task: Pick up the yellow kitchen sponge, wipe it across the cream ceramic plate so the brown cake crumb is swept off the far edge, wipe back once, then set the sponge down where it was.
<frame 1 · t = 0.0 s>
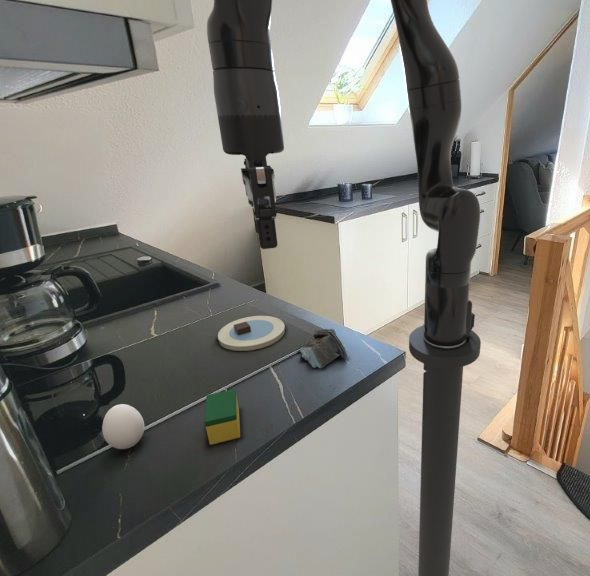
hand: (266, 239, 56), 31 cm above the counter, tool pointing down, fingers open, 8 cm apart
sponge: (225, 426, 66), on the counter
plate: (252, 334, 95), on the counter
crumb: (242, 331, 94), point 1 cm above the counter, touching plate
egg: (129, 446, 63), on the counter
grey jagged block: (317, 357, 86), on the counter
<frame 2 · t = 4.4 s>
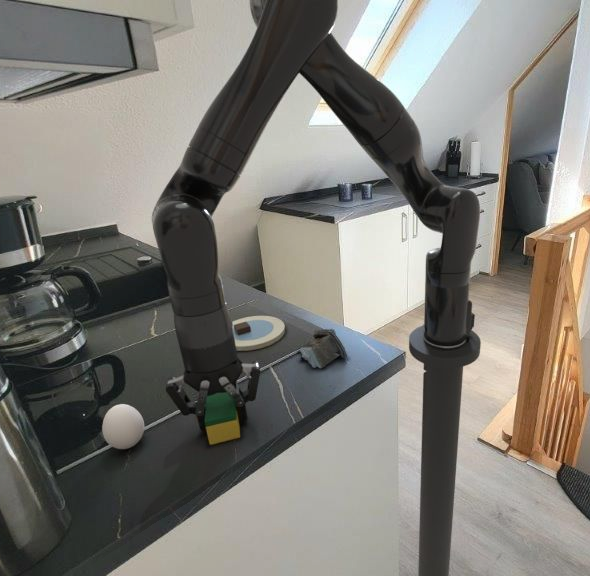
hand: (225, 425, 66), 0 cm above the counter, tool pointing down, fingers closed on sponge, 4 cm apart
sponge: (225, 426, 66), on the counter, touching gripper
everything else where it was.
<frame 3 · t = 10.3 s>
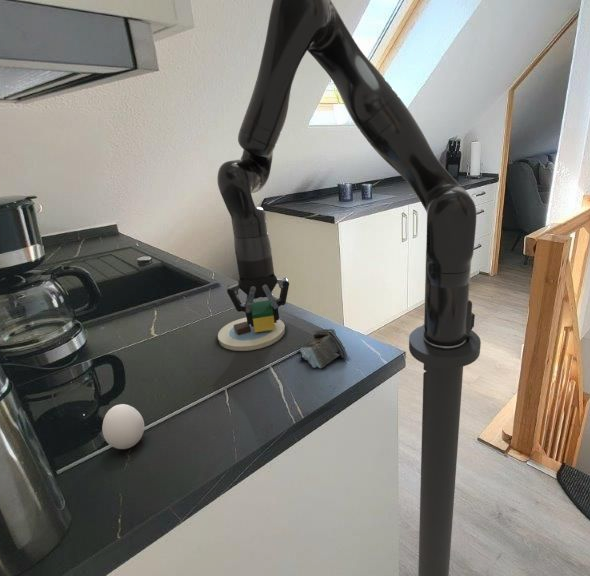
hand: (263, 323, 95), 2 cm above the counter, tool pointing down, fingers closed on sponge, 4 cm apart
sponge: (263, 324, 95), point 2 cm above the counter, touching gripper
crumb: (242, 331, 94), point 1 cm above the counter, touching gripper, plate
everything else where it was.
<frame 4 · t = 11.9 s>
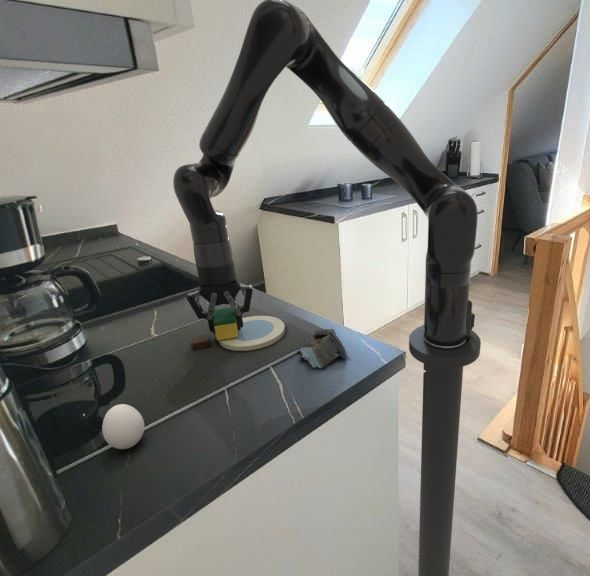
hand: (227, 330, 93), 2 cm above the counter, tool pointing down, fingers closed on sponge, 4 cm apart
sponge: (227, 331, 93), point 2 cm above the counter, touching gripper
crumb: (200, 339, 90), point 1 cm above the counter, tilted 180°
everything else where it was.
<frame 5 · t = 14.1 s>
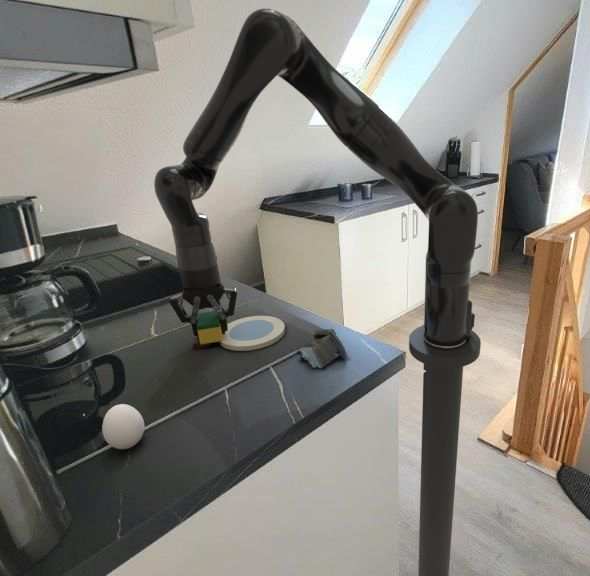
hand: (211, 334, 92), 2 cm above the counter, tool pointing down, fingers closed on sponge, 4 cm apart
sponge: (211, 335, 92), point 1 cm above the counter, touching gripper
everything else where it was.
when the fingers open (0 cm above the counter, at t = 22.9 s): sponge stays where it is, on the counter.
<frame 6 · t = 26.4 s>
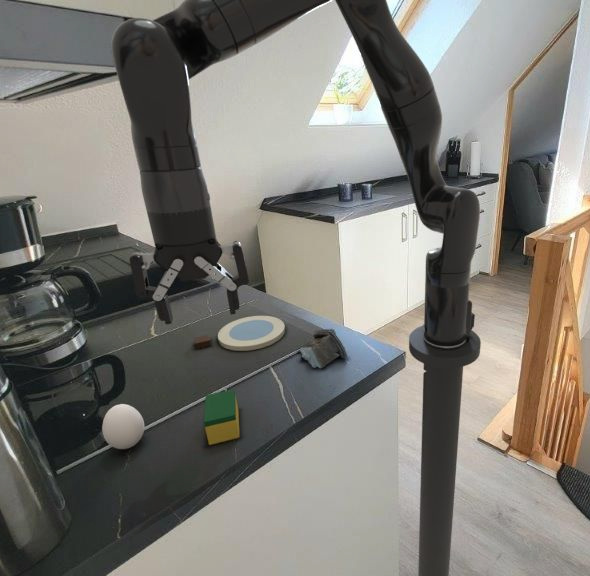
hand: (202, 316, 58), 20 cm above the counter, tool pointing down, fingers open, 8 cm apart
sponge: (224, 426, 66), on the counter
everything else where it was.
at the end: crumb inside the target area on the counter beside the plate (5.6 cm from its centre), point 1.5 cm above the counter; the gripper is holding nothing; sponge inside the target area (0.1 cm from its centre), on the counter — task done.
